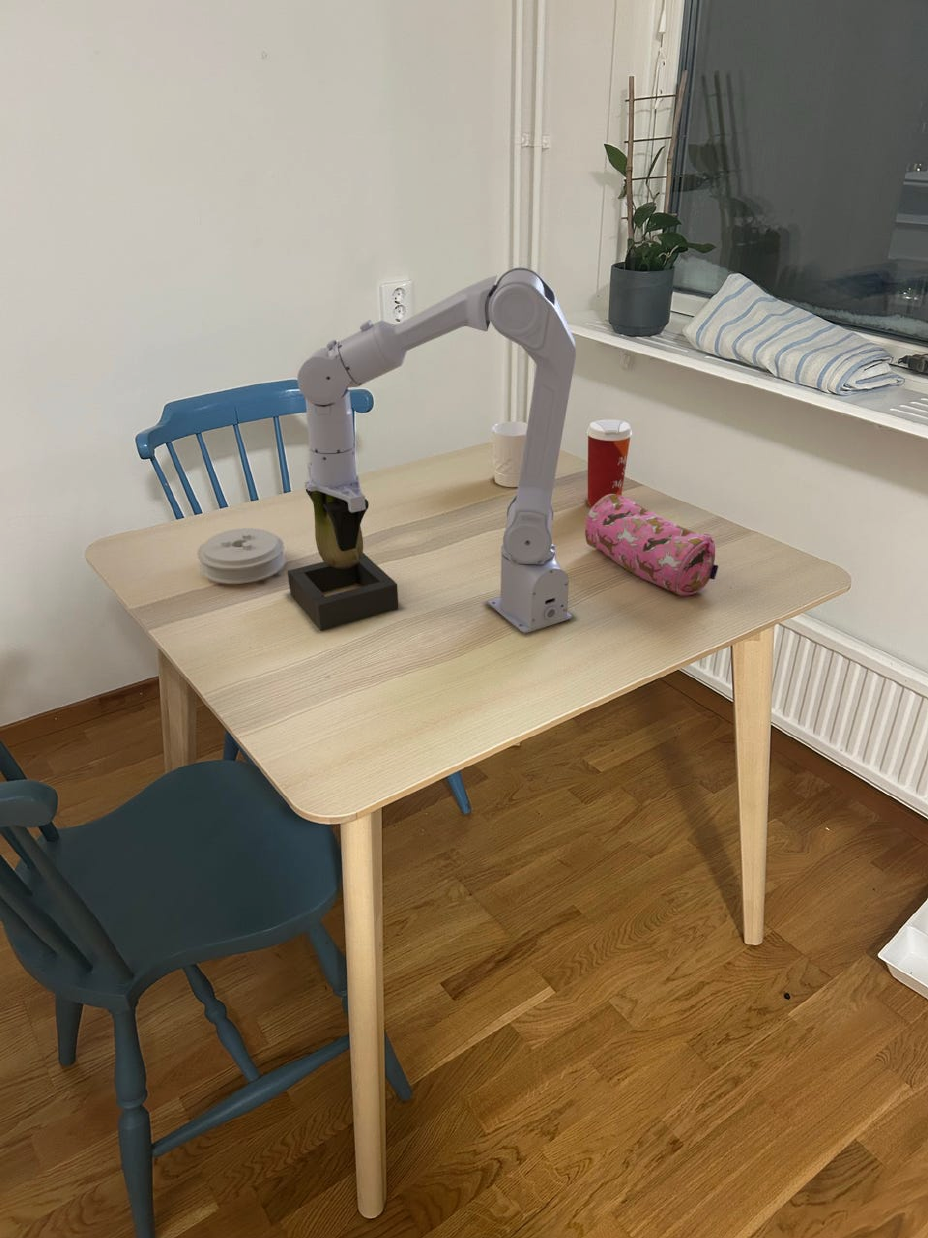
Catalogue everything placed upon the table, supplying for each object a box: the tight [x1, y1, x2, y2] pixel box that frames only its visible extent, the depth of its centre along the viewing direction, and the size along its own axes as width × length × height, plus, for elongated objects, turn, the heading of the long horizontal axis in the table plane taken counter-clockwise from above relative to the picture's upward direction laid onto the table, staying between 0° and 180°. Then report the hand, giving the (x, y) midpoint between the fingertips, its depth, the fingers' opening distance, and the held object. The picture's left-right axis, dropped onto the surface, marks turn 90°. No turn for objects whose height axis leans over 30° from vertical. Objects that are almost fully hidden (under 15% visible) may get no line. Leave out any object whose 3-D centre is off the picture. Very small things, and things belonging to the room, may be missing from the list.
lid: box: [196, 527, 287, 585], centre depth 133 cm, size 13×13×5 cm
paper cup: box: [585, 418, 633, 508], centre depth 151 cm, size 8×8×14 cm
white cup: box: [491, 421, 528, 488], centre depth 162 cm, size 8×8×10 cm
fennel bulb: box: [312, 491, 364, 569], centre depth 120 cm, size 6×5×12 cm
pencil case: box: [584, 494, 719, 597], centre depth 131 cm, size 21×9×9 cm, turn 34°
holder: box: [287, 552, 399, 632], centre depth 125 cm, size 12×12×4 cm
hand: (340, 542), depth 121 cm, fingers closed on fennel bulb, 4 cm apart
